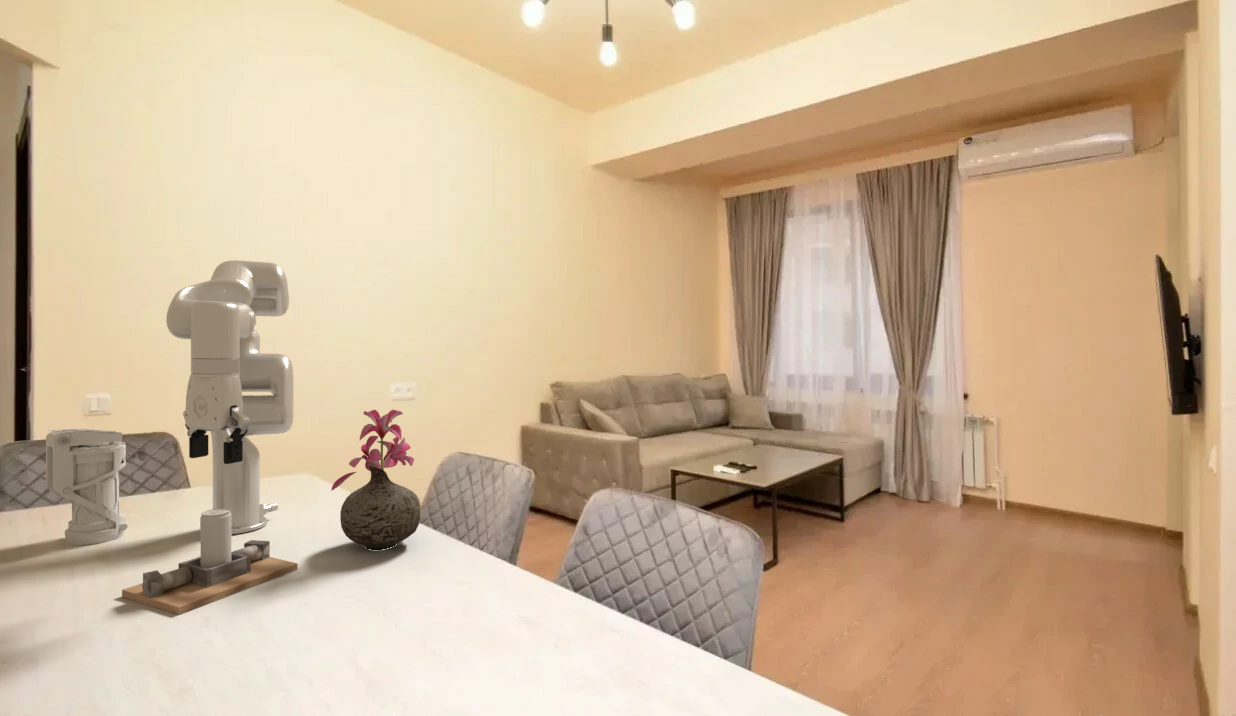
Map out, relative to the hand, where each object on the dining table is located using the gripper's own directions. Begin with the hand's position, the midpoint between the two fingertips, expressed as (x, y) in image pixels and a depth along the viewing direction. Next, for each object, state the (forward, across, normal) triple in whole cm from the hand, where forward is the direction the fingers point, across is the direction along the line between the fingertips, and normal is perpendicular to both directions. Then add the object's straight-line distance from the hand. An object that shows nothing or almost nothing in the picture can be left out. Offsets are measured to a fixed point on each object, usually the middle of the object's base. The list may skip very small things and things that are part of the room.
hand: (215, 459), depth 112 cm
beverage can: (+22, +1, 0) cm, 22 cm away
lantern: (+24, -47, +2) cm, 53 cm away
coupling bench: (+23, +1, 0) cm, 23 cm away
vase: (+23, +13, +28) cm, 38 cm away
